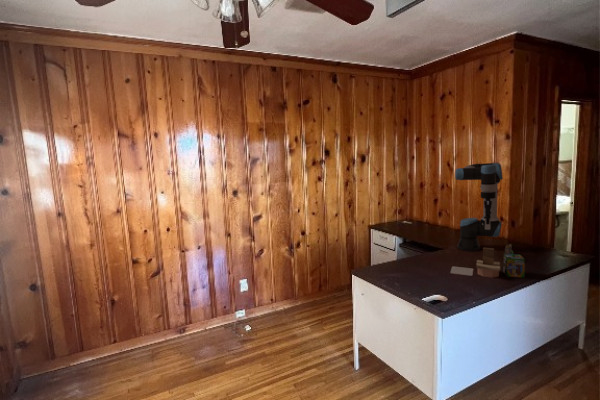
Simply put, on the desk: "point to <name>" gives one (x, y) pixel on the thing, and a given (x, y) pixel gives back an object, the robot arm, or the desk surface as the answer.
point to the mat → (462, 270)
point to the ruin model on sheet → (508, 249)
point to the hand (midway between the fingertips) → (487, 226)
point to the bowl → (488, 272)
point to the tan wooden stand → (488, 260)
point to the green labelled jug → (513, 265)
